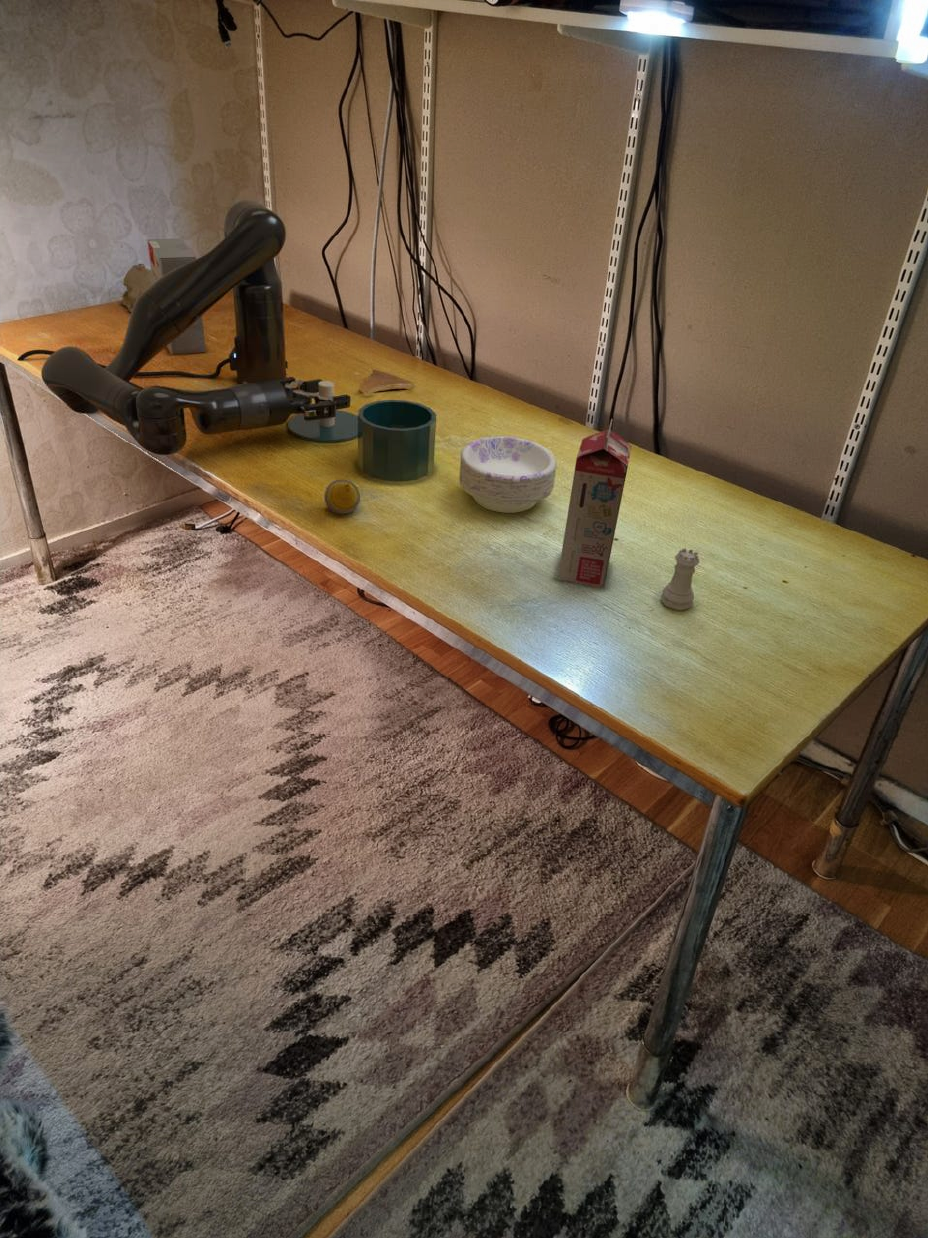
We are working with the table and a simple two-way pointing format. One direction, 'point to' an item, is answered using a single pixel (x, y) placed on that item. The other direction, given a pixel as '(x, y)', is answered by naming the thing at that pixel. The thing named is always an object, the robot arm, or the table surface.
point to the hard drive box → (162, 261)
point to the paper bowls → (507, 473)
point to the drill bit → (342, 497)
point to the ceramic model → (136, 284)
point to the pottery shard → (383, 382)
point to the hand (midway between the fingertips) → (335, 392)
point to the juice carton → (594, 508)
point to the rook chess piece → (681, 582)
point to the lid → (326, 423)
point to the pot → (396, 440)
